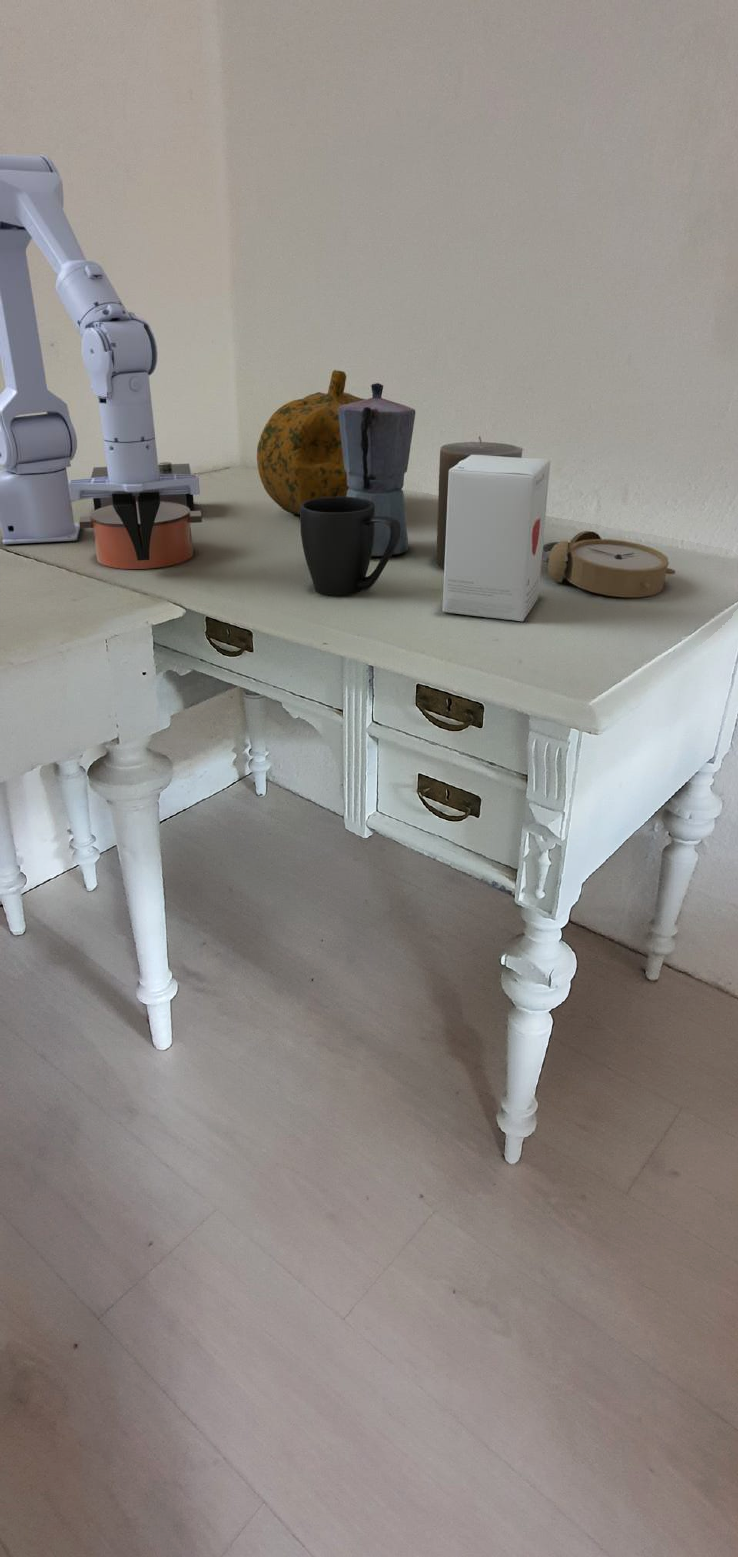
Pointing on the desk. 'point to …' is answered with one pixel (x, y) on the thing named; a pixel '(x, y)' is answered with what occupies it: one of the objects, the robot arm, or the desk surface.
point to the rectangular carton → (495, 536)
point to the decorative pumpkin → (305, 448)
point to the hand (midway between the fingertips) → (143, 558)
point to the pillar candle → (448, 459)
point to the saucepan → (165, 543)
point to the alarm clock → (607, 565)
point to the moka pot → (378, 459)
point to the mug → (342, 543)
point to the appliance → (163, 469)
